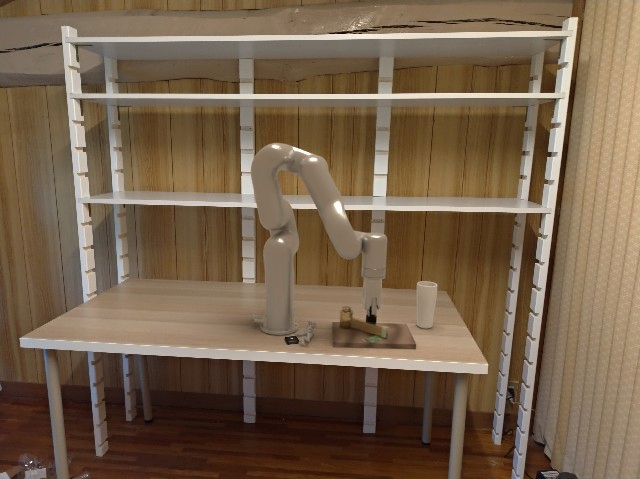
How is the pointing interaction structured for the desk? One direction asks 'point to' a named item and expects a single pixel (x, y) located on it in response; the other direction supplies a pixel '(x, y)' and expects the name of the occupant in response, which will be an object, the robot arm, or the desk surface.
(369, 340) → the wooden cutting board
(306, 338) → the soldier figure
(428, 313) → the drinking glass
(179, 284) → the desk surface
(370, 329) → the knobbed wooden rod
